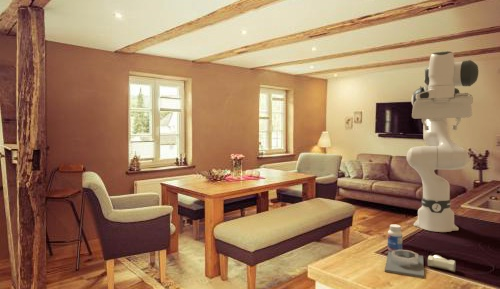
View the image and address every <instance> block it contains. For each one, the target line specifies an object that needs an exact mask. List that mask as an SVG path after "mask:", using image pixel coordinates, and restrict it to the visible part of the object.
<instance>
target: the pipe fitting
mask: <svg viewBox="0 0 500 289" xmlns="http://www.w3.org/2000/svg"><path fill="white" fill-rule="evenodd" d="M427 266H428V267H431V268H437V269H440V270H441V269H442V270H447V271H449V272H453V273H455V272H456V260H453V259H447V258H445V257H442V256H441V255H439V254H434V255H428V257H427Z"/></svg>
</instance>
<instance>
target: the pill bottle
mask: <svg viewBox="0 0 500 289" xmlns="http://www.w3.org/2000/svg"><path fill="white" fill-rule="evenodd" d="M401 228H402V226H401V225H399V224H396V223H395V224H389V230H388V231H387V250H388V251H390V252H392V251H393V250H399V249H401V250H403V231H401Z"/></svg>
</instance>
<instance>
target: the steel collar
mask: <svg viewBox="0 0 500 289" xmlns="http://www.w3.org/2000/svg"><path fill="white" fill-rule="evenodd" d="M391 252H392V255H391V262H392V263H394V264H396V265H398V266H401V267H408V268H412V267H417V266H418V255H419V253H417V252H414V251H412V250H408V249H402V250H401V249H399V250H393V251H391Z"/></svg>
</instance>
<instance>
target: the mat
mask: <svg viewBox="0 0 500 289" xmlns="http://www.w3.org/2000/svg"><path fill="white" fill-rule="evenodd" d="M391 255H392V251H390V250H388V252H387V257H386V262H385V267H384V272H385V273H390V274H397V275H402V276H403V275H404V276H409V277H416V278H422V279H424V278H425V268H424V267H425V265H424V256H423V255H419V254H418V266H417V267H412V268H408V267H401V266H398V265H396V264H394V263H392V262H391Z"/></svg>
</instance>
